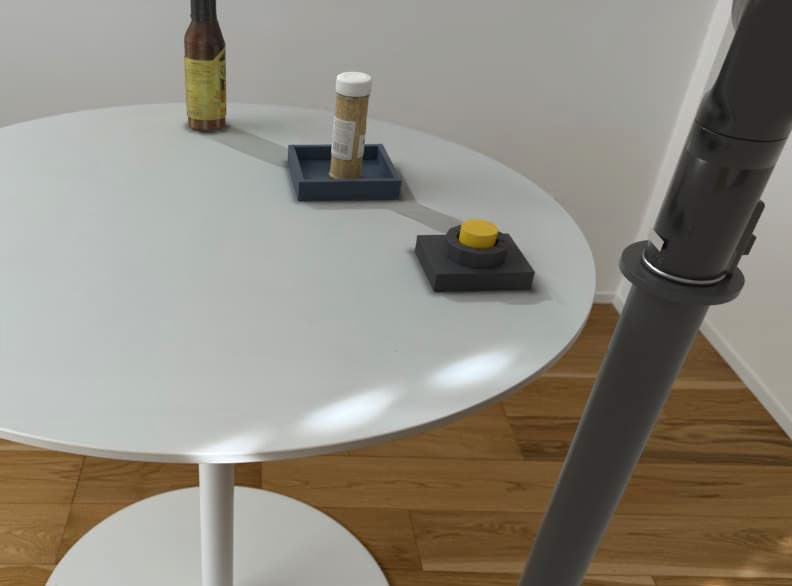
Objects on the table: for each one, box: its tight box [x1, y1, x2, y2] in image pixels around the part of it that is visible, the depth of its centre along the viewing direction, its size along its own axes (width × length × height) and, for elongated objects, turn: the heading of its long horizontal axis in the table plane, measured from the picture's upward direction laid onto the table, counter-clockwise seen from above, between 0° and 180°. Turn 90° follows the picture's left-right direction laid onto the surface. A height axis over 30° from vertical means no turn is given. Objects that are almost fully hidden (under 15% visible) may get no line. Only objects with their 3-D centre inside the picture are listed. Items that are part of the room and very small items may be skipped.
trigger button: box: [459, 218, 499, 249], centre depth 87 cm, size 4×4×2 cm
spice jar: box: [329, 71, 373, 179], centre depth 104 cm, size 5×5×13 cm
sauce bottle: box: [183, 0, 227, 132], centre depth 117 cm, size 6×6×20 cm
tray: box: [286, 143, 403, 202], centre depth 108 cm, size 14×13×3 cm
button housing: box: [414, 224, 536, 292], centre depth 89 cm, size 11×9×4 cm
